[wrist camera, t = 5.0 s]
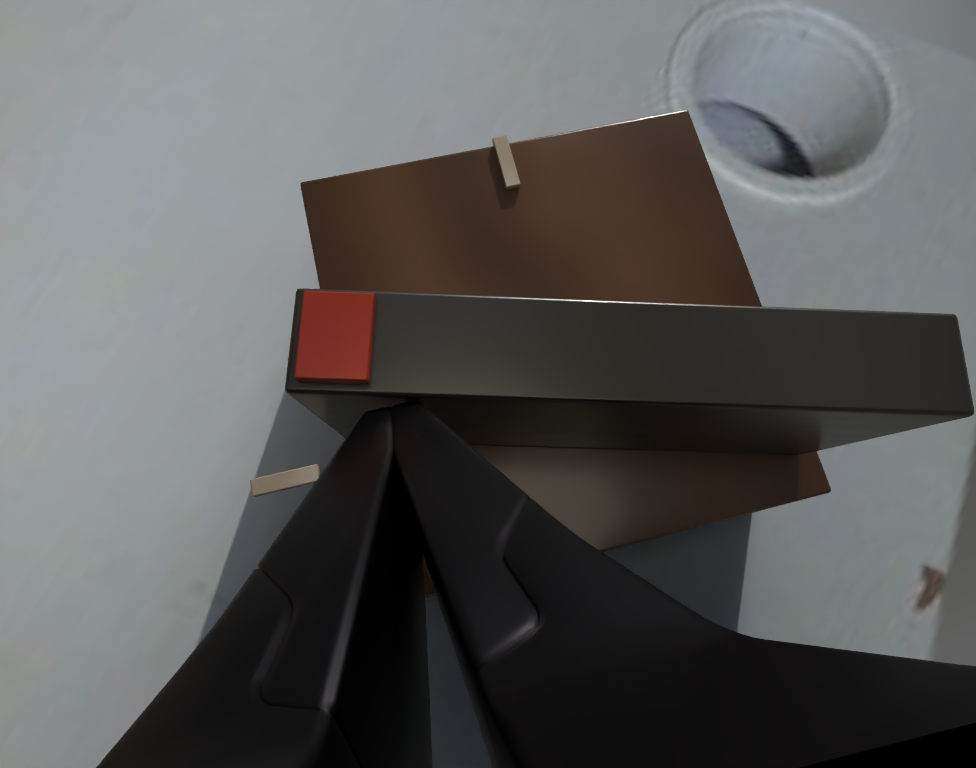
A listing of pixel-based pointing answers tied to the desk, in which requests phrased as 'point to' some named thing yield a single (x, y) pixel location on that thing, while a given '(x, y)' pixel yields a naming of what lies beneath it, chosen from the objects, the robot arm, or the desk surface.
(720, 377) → the red-tipped grey slab
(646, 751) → the robot arm
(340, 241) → the panel
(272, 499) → the desk surface
